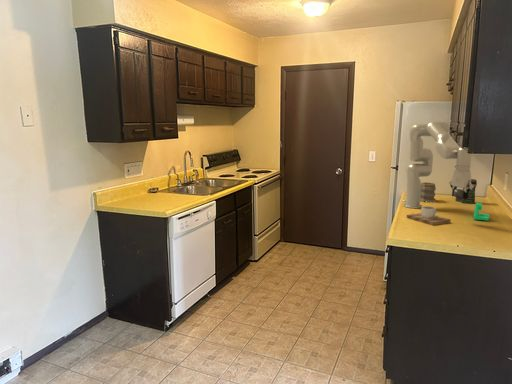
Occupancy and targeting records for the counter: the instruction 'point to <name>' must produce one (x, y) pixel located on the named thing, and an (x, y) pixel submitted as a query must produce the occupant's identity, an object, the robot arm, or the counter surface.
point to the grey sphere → (458, 194)
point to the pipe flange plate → (428, 216)
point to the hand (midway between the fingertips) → (459, 197)
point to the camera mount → (480, 215)
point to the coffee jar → (471, 193)
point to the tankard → (427, 192)
